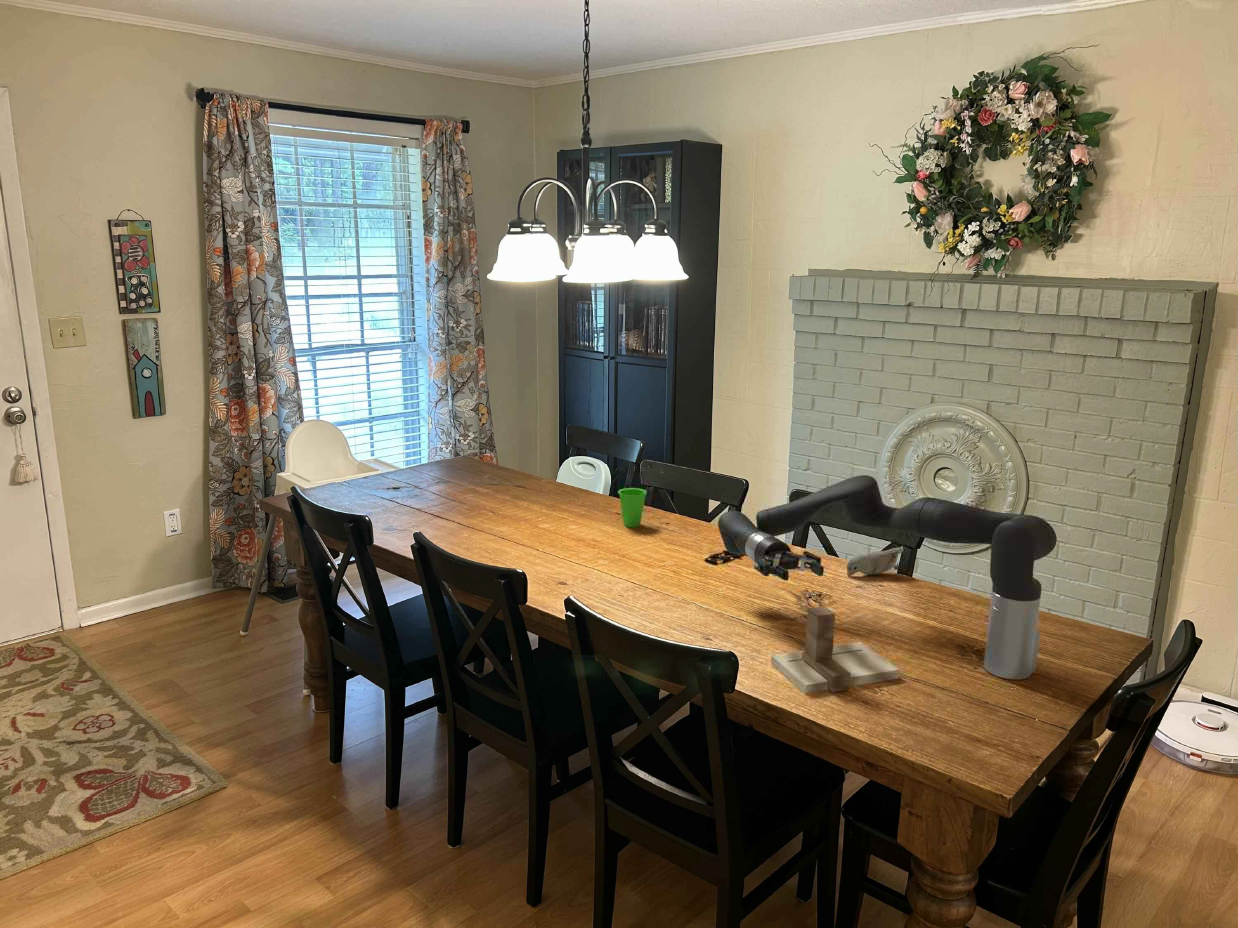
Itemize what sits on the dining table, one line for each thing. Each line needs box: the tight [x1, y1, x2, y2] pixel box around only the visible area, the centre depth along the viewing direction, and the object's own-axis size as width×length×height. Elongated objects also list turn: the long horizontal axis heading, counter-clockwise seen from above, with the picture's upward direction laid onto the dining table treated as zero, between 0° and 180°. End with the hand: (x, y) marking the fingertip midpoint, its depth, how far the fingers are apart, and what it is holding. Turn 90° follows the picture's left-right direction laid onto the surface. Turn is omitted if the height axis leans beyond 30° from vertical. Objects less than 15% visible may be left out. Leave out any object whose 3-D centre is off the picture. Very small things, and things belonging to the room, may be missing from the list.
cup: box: [617, 487, 648, 528], centre depth 287 cm, size 9×9×11 cm
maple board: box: [770, 641, 901, 695], centre depth 190 cm, size 22×14×2 cm, turn 109°
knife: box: [704, 549, 745, 565], centre depth 262 cm, size 25×6×1 cm, turn 127°
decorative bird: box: [846, 546, 905, 578], centre depth 246 cm, size 5×16×8 cm, turn 103°
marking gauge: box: [801, 606, 851, 693], centre depth 185 cm, size 4×12×13 cm, turn 19°
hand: (804, 573), depth 196 cm, fingers open, 8 cm apart
